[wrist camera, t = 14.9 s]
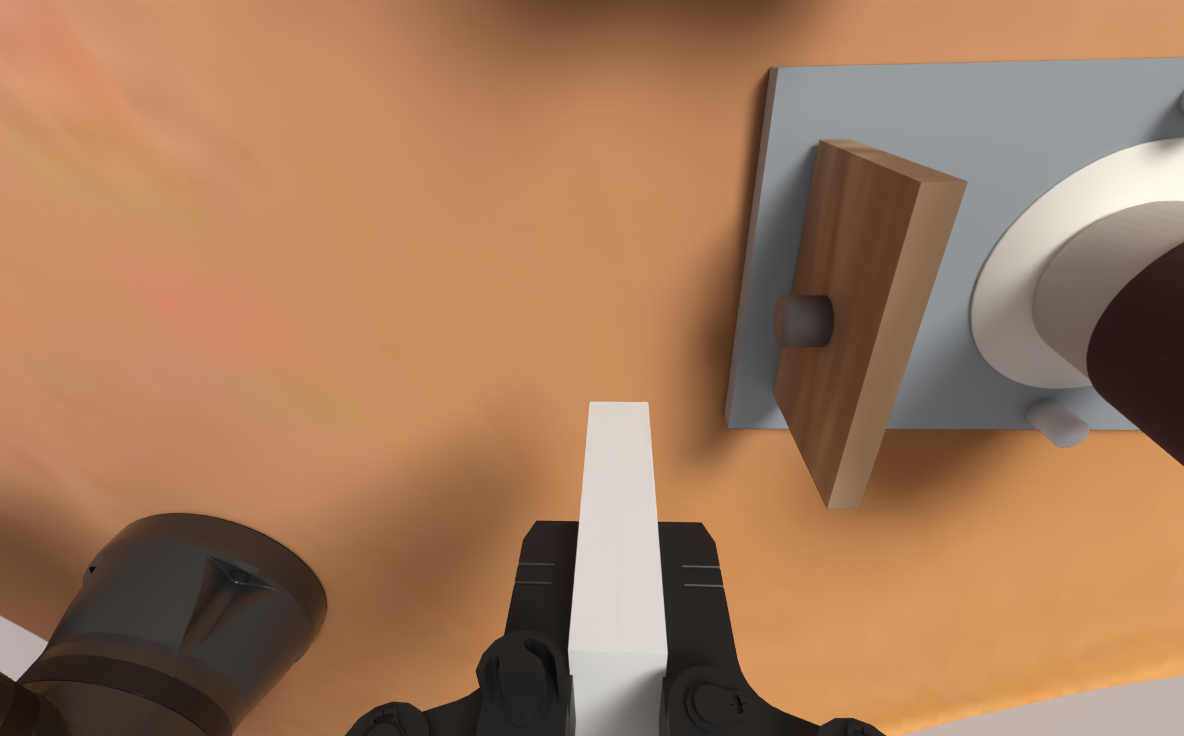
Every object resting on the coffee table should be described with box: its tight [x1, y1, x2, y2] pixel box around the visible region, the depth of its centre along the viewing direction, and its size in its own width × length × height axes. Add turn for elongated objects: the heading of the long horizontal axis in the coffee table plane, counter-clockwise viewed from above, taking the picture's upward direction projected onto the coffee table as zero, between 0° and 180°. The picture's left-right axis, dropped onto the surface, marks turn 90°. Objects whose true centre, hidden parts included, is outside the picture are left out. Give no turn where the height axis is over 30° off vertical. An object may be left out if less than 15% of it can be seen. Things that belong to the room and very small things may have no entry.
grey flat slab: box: [724, 57, 1184, 448], centre depth 23 cm, size 24×17×3 cm
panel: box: [772, 139, 968, 510], centre depth 20 cm, size 3×12×8 cm, turn 1°
